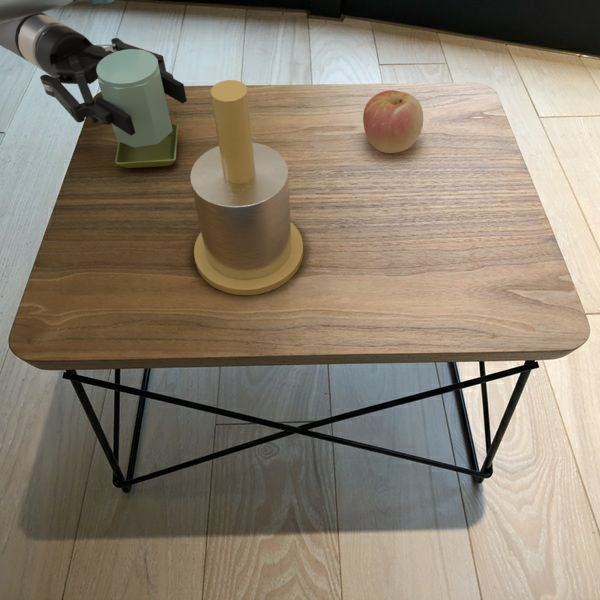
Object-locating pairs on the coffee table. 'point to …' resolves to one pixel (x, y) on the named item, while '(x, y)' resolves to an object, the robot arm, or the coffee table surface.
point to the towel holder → (243, 205)
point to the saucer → (149, 153)
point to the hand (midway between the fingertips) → (157, 109)
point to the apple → (393, 121)
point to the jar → (136, 95)
